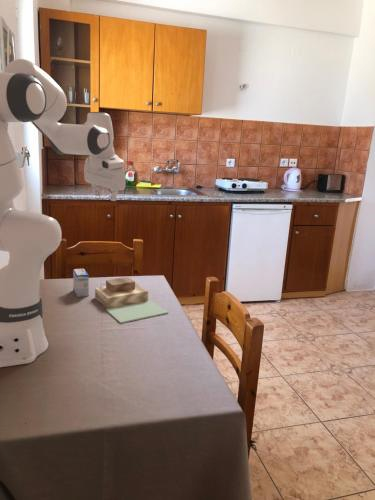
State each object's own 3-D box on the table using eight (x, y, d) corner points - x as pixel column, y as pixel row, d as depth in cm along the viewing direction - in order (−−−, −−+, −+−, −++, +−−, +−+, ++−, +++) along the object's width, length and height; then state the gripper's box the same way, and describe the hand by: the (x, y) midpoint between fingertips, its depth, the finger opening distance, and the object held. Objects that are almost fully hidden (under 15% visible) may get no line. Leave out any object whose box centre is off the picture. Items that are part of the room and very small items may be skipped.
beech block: (107, 308, 145) (107, 298, 144) (95, 297, 155) (95, 287, 154) (148, 301, 154) (148, 291, 153) (133, 291, 163) (133, 281, 162)
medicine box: (73, 290, 161) (72, 269, 159) (84, 289, 163) (84, 268, 161) (77, 297, 154) (76, 275, 152) (89, 296, 156) (88, 274, 154)
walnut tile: (112, 293, 149) (112, 285, 148) (105, 287, 154) (105, 280, 153) (134, 289, 154) (135, 281, 153) (128, 284, 159) (128, 276, 158)
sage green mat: (120, 323, 134) (120, 322, 134) (106, 310, 144) (106, 309, 144) (168, 313, 144) (168, 312, 144) (151, 301, 153) (151, 300, 153)
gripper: (77, 157, 150) (81, 194, 155) (113, 165, 137) (115, 205, 142) (92, 155, 154) (95, 191, 159) (127, 162, 141) (129, 201, 147)
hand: (105, 198), depth 151 cm, fingers open, 8 cm apart
